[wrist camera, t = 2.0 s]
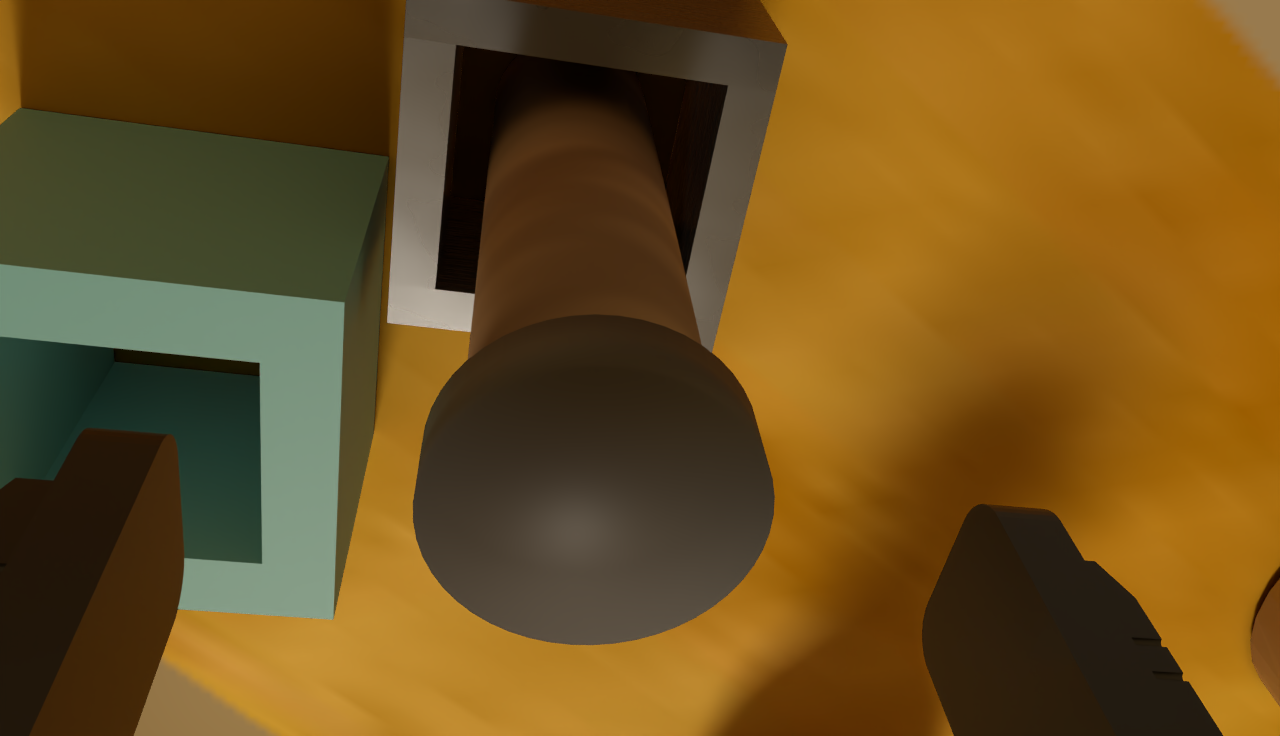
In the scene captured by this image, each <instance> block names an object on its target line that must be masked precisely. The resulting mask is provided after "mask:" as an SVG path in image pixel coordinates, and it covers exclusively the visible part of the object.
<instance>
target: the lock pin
mask: <svg viewBox="0 0 1280 736" xmlns="http://www.w3.org/2000/svg"><path fill="white" fill-rule="evenodd" d="M773 515H774V488H773V479H772V476H771V472H770V468H769V465H768V461H767V458H766V454H765V451H764V447H763V444H762V440H761V436H760V433H759V429H758V426H757V422H756V419H755V415H754V412H753V408H752V405H751V403H750V401H749V399H748V397H747V395H746V393H745V391H744V389H743V387H742V386H741V384H740V383H739V382H738V380H737V379H736V377H735V376H734V374H733V373H732V372H731V371H730V370H729V369H728V368H727V367H726V366H725V364H724V363H723V362H722V361H721V360H720V359H719V358H718V357H716V356H715V355H714V354H713V353H711V352H710V351H709V350H708V349H706V348H705V347H704V346H702V343H701V339H700V335H699V331H698V326H697V322H696V318H695V313H694V309H693V305H692V301H691V296H690V292H689V288H688V283H687V279H686V275H685V271H684V266H683V262H682V258H681V253H680V249H679V245H678V240H677V236H676V232H675V228H674V223H673V219H672V215H671V210H670V206H669V202H668V198H667V193H666V189H665V185H664V180H663V176H662V172H661V168H660V163H659V159H658V155H657V150H656V146H655V142H654V137H653V133H652V129H651V125H650V120H649V116H648V112H647V107H646V103H645V99H644V95H643V91H642V87H641V84H640V82H639V79H638V77H637V75H636V73H635V72H634V71H628V70H622V69H615V68H608V67H601V66H595V65H588V64H581V63H575V62H568V61H561V60H555V59H548V58H541V57H534V56H528V55H521V54H519V55H518V56H516V57H515V59H514V60H513V61H512V62H511V63H510V64H509V66H508V67H507V69H506V70H505V72H504V74H503V76H502V78H501V80H500V83H499V86H498V89H497V93H496V99H495V108H494V118H493V127H492V137H491V146H490V155H489V165H488V174H487V184H486V193H485V203H484V212H483V222H482V231H481V240H480V250H479V259H478V269H477V278H476V288H475V297H474V306H473V316H472V325H471V335H470V344H469V354H468V360H467V361H466V362H465V363H464V364H463V365H462V366H461V367H460V368H459V369H458V370H457V371H456V372H455V373H454V374H453V375H452V376H451V378H450V379H449V380H448V382H447V383H446V384H445V386H444V387H443V388H442V390H441V391H440V393H439V395H438V397H437V399H436V400H435V402H434V404H433V406H432V408H431V411H430V413H429V416H428V419H427V422H426V425H425V430H424V436H423V442H422V448H421V454H420V461H419V467H418V474H417V480H416V487H415V494H414V500H413V523H414V528H415V534H416V539H417V542H418V545H419V548H420V551H421V553H422V556H423V558H424V560H425V562H426V563H427V565H428V567H429V569H430V571H431V573H432V574H433V575H434V576H435V578H436V579H437V580H438V582H439V583H440V584H441V586H442V587H443V588H444V589H445V590H446V591H447V592H448V593H449V594H450V595H451V596H452V597H453V598H454V599H455V600H456V601H457V602H459V603H460V604H461V605H463V606H464V607H465V608H467V609H468V610H469V611H471V612H472V613H473V614H475V615H477V616H479V617H480V618H482V619H484V620H485V621H487V622H489V623H491V624H493V625H495V626H498V627H500V628H502V629H505V630H507V631H509V632H512V633H515V634H519V635H522V636H525V637H528V638H532V639H537V640H542V641H546V642H552V643H561V644H570V645H600V644H613V643H620V642H626V641H632V640H637V639H641V638H645V637H648V636H652V635H656V634H659V633H661V632H664V631H667V630H670V629H672V628H675V627H677V626H679V625H681V624H683V623H685V622H688V621H690V620H692V619H694V618H696V617H697V616H699V615H700V614H702V613H704V612H705V611H707V610H708V609H710V608H712V607H713V606H714V605H716V604H717V603H718V602H719V601H721V600H722V599H723V598H724V597H726V596H727V595H728V594H729V593H730V592H731V591H732V590H733V589H734V588H735V587H736V586H737V585H738V584H739V583H740V582H741V581H742V580H743V579H744V577H745V576H746V575H747V574H748V572H749V571H750V570H751V568H752V567H753V566H754V564H755V562H756V561H757V559H758V557H759V555H760V554H761V552H762V550H763V548H764V545H765V543H766V540H767V538H768V535H769V533H770V528H771V524H772V519H773Z"/></svg>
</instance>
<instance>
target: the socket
mask: <svg viewBox="0 0 1280 736" xmlns="http://www.w3.org/2000/svg"><path fill="white" fill-rule="evenodd" d="M388 166H389V157H388V156H380V155H373V154H365V153H358V152H350V151H342V150H335V149H327V148H320V147H312V146H305V145H297V144H289V143H282V142H274V141H267V140H259V139H252V138H244V137H237V136H229V135H221V134H214V133H206V132H199V131H191V130H184V129H176V128H168V127H161V126H153V125H146V124H138V123H131V122H123V121H116V120H108V119H100V118H93V117H85V116H78V115H70V114H63V113H55V112H47V111H40V110H32V109H25V108H19V109H18V110H17V111H16V112H15V113H14V114H12V115H11V116H10V117H9V118H8V119H7V120H5V121H4V122H3V123H2V124H1V125H0V489H1V488H2V487H4V486H5V485H6V484H8V483H9V482H10V481H12V480H13V479H14V478H26V479H40V480H54V479H55V477H56V475H57V473H58V471H59V470H60V468H61V466H62V464H63V463H64V461H65V459H66V457H67V455H68V454H69V452H70V450H71V448H72V446H73V445H74V443H75V441H76V439H77V438H78V436H79V435H80V433H81V432H82V431H83V430H84V429H86V428H102V429H114V430H126V431H138V432H150V433H162V434H171V435H173V436H174V438H175V440H176V444H177V449H178V461H179V477H180V493H181V509H182V525H183V540H184V575H183V584H182V591H181V596H180V601H179V606H178V609H184V610H198V611H213V612H228V613H243V614H258V615H273V616H288V617H302V618H317V619H332V620H333V619H334V614H335V610H336V605H337V600H338V596H339V591H340V586H341V582H342V577H343V573H344V568H345V563H346V559H347V554H348V550H349V545H350V540H351V536H352V531H353V526H354V522H355V517H356V513H357V508H358V503H359V499H360V494H361V489H362V485H363V480H364V476H365V471H366V466H367V462H368V457H369V452H370V448H371V443H372V439H373V434H374V418H375V400H376V382H377V364H378V346H379V328H380V310H381V292H382V274H383V256H384V238H385V220H386V202H387V184H388ZM113 348H119V349H129V350H138V351H148V352H158V353H168V354H178V355H188V356H197V357H207V358H217V359H227V360H237V361H247V362H256V363H260V376H252V375H242V374H232V373H222V372H212V371H202V370H192V369H182V368H172V367H162V366H152V365H142V364H132V363H122V362H115V360H114V350H113Z"/></svg>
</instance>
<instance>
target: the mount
mask: <svg viewBox="0 0 1280 736" xmlns="http://www.w3.org/2000/svg"><path fill="white" fill-rule="evenodd" d="M464 46H467V47H474V48H481V49H487V50H494V51H501V52H508V53H514V54H521V55H528V56H534V57H541V58H548V59H555V60H561V61H568V62H575V63H581V64H588V65H595V66H601V67H608V68H615V69H622V70H628V71H635V72H642V73H648V74H655V75H662V76H668V77H675V78H682V79H687V80H686V85H685V90H684V95H683V100H682V105H681V110H680V115H679V120H678V125H677V130H676V135H675V140H674V145H673V150H672V155H671V160H670V165H669V170H668V175H667V180H666V185H665V189H666V193H667V198H668V202H669V206H670V210H671V215H672V219H673V223H674V228H675V232H676V236H677V240H678V245H679V249H680V253H681V258H682V262H683V266H684V271H685V275H686V279H687V283H688V288H689V292H690V296H691V301H692V305H693V309H694V313H695V318H696V322H697V326H698V331H699V335H700V339H701V343H702V346H704V347H705V348H706V349H708V350H709V351H710V352H711V353H712V350H713V345H714V341H715V337H716V333H717V329H718V325H719V321H720V317H721V313H722V309H723V305H724V301H725V297H726V293H727V288H728V284H729V280H730V276H731V272H732V268H733V264H734V260H735V256H736V252H737V248H738V244H739V240H740V236H741V231H742V227H743V223H744V219H745V215H746V211H747V207H748V203H749V199H750V195H751V191H752V187H753V183H754V179H755V174H756V170H757V166H758V162H759V158H760V154H761V150H762V146H763V142H764V138H765V134H766V130H767V126H768V122H769V117H770V113H771V109H772V105H773V101H774V97H775V93H776V89H777V85H778V81H779V77H780V73H781V69H782V65H783V60H784V56H785V52H786V48H787V43H786V41H785V40H784V38H783V36H782V35H781V33H780V32H779V30H778V28H777V27H776V25H775V24H774V22H773V21H772V19H771V17H770V16H769V14H768V13H767V11H766V9H765V8H764V6H763V5H762V3H761V1H760V0H406V13H405V30H404V47H403V63H402V80H401V97H400V114H399V131H398V147H397V164H396V181H395V198H394V215H393V231H392V248H391V265H390V282H389V299H388V315H387V323H393V324H402V325H412V326H421V327H430V328H439V329H448V330H457V331H467V332H471V325H472V316H473V306H474V297H475V288H476V278H477V269H478V259H479V250H480V240H481V231H482V222H483V212H484V203H485V201H482V200H475V199H467V198H459V197H451V189H452V178H453V166H454V155H455V144H456V133H457V121H458V110H459V99H460V88H461V76H462V65H463V54H464Z"/></svg>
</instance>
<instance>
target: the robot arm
mask: <svg viewBox="0 0 1280 736" xmlns="http://www.w3.org/2000/svg"><path fill="white" fill-rule="evenodd" d="M183 575H184V540H183V525H182V509H181V493H180V477H179V461H178V449H177V444H176V440H175V438H174V436H173V435H171V434H162V433H150V432H138V431H126V430H114V429H102V428H86V429H84V430H83V431H82V432H81V433H80V435H79V436H78V438H77V439H76V441H75V443H74V445H73V446H72V448H71V450H70V452H69V454H68V455H67V457H66V459H65V461H64V463H63V464H62V466H61V468H60V470H59V471H58V473H57V475H56V477H55V479H54V480H40V479H26V478H14V479H13V480H12V481H10V482H9V483H8V484H6V485H5V486H4V487H2V488H1V489H0V736H134V733H135V730H136V727H137V725H138V722H139V719H140V716H141V713H142V711H143V708H144V705H145V702H146V699H147V696H148V693H149V691H150V688H151V685H152V683H153V680H154V677H155V674H156V671H157V669H158V666H159V663H160V660H161V657H162V655H163V652H164V649H165V646H166V643H167V641H168V638H169V635H170V632H171V629H172V627H173V624H174V621H175V618H176V614H177V610H178V606H179V601H180V596H181V591H182V584H183ZM1161 640H1162V639H1161V637H1160V636H1159V634H1158V633H1157V631H1156V630H1155V628H1154V626H1153V625H1152V623H1151V622H1150V620H1149V619H1148V617H1147V615H1146V614H1145V612H1144V611H1143V609H1142V608H1141V606H1140V605H1139V603H1138V601H1137V600H1136V598H1135V597H1134V596H1132V595H1131V594H1130V593H1129V592H1128V591H1127V590H1126V589H1125V588H1124V587H1123V586H1121V585H1120V584H1119V583H1118V582H1117V581H1116V580H1115V579H1114V578H1113V577H1112V576H1110V575H1109V574H1108V573H1107V572H1106V571H1105V570H1104V569H1103V568H1102V567H1101V566H1099V565H1098V564H1097V563H1096V562H1095V561H1085V560H1084V559H1083V557H1082V556H1081V554H1080V552H1079V551H1078V549H1077V547H1076V546H1075V544H1074V542H1073V541H1072V539H1071V537H1070V536H1069V534H1068V533H1067V531H1066V529H1065V528H1064V526H1063V524H1062V523H1061V521H1060V520H1059V518H1058V517H1057V516H1056V515H1055V514H1054V513H1053V512H1051V511H1049V510H1045V509H1035V508H1023V507H1011V506H999V505H987V504H980V505H977V506H975V507H974V508H973V509H971V510H970V512H969V513H968V514H967V516H966V518H965V520H964V522H963V524H962V527H961V529H960V531H959V534H958V536H957V538H956V540H955V543H954V545H953V547H952V550H951V552H950V554H949V556H948V559H947V561H946V563H945V566H944V568H943V570H942V572H941V575H940V577H939V579H938V582H937V584H936V586H935V588H934V591H933V593H932V595H931V597H930V600H929V602H928V605H927V607H926V611H925V615H924V620H923V629H922V642H923V651H924V657H925V661H926V665H927V668H928V670H929V673H930V675H931V678H932V681H933V683H934V686H935V688H936V691H937V693H938V696H939V698H940V701H941V704H942V706H943V709H944V711H945V714H946V716H947V719H948V721H949V724H950V727H951V729H952V732H953V734H954V736H1223V735H1222V733H1221V732H1220V730H1219V728H1218V727H1217V725H1216V724H1215V722H1214V721H1213V719H1212V717H1211V716H1210V714H1209V713H1208V711H1207V710H1206V708H1205V706H1204V705H1203V703H1202V702H1201V700H1200V699H1199V697H1198V695H1197V694H1196V692H1195V691H1194V689H1193V688H1192V686H1191V685H1190V683H1189V682H1187V681H1183V679H1182V674H1183V672H1182V670H1181V669H1180V667H1179V666H1178V664H1177V663H1176V661H1175V659H1174V658H1173V656H1172V655H1171V653H1170V652H1169V650H1168V648H1167V647H1162V646H1161ZM1250 641H1251V654H1252V662H1253V664H1254V666H1255V669H1256V671H1257V673H1258V675H1259V677H1260V679H1261V681H1262V682H1263V684H1264V685H1265V686H1266V688H1267V689H1268V691H1269V692H1270V694H1271V695H1272V696H1273V698H1274V699H1275V701H1276V702H1277V703H1278V705H1279V706H1280V579H1279V580H1278V581H1277V583H1276V584H1275V585H1274V586H1273V588H1272V589H1271V590H1270V591H1269V593H1268V595H1267V597H1266V599H1265V601H1264V603H1263V604H1262V606H1261V608H1260V610H1259V612H1258V614H1257V616H1256V619H1255V623H1254V628H1253V632H1252V636H1251V640H1250Z"/></svg>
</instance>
